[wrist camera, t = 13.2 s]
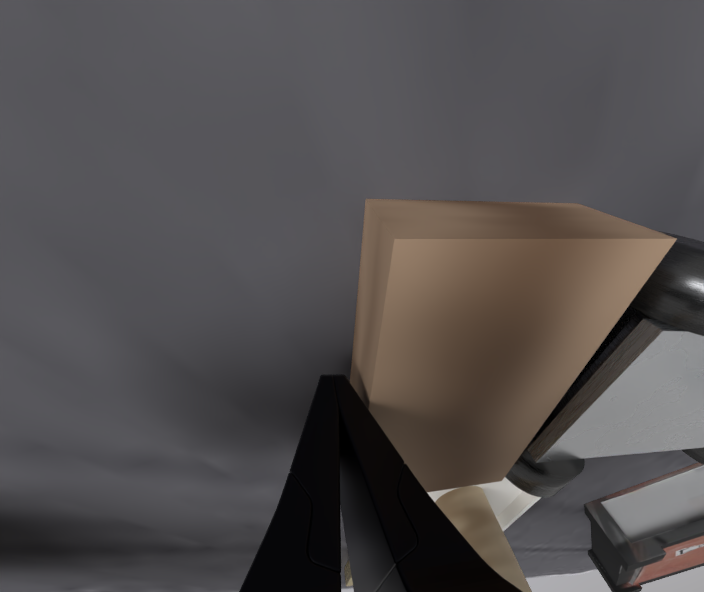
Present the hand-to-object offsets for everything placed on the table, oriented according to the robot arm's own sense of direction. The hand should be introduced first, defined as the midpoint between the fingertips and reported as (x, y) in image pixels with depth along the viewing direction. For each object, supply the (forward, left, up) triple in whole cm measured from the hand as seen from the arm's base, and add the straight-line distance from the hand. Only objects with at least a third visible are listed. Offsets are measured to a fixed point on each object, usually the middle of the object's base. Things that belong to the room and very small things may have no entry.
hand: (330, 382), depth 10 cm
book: (+42, -25, -2) cm, 49 cm away
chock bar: (+5, 0, -2) cm, 5 cm away
